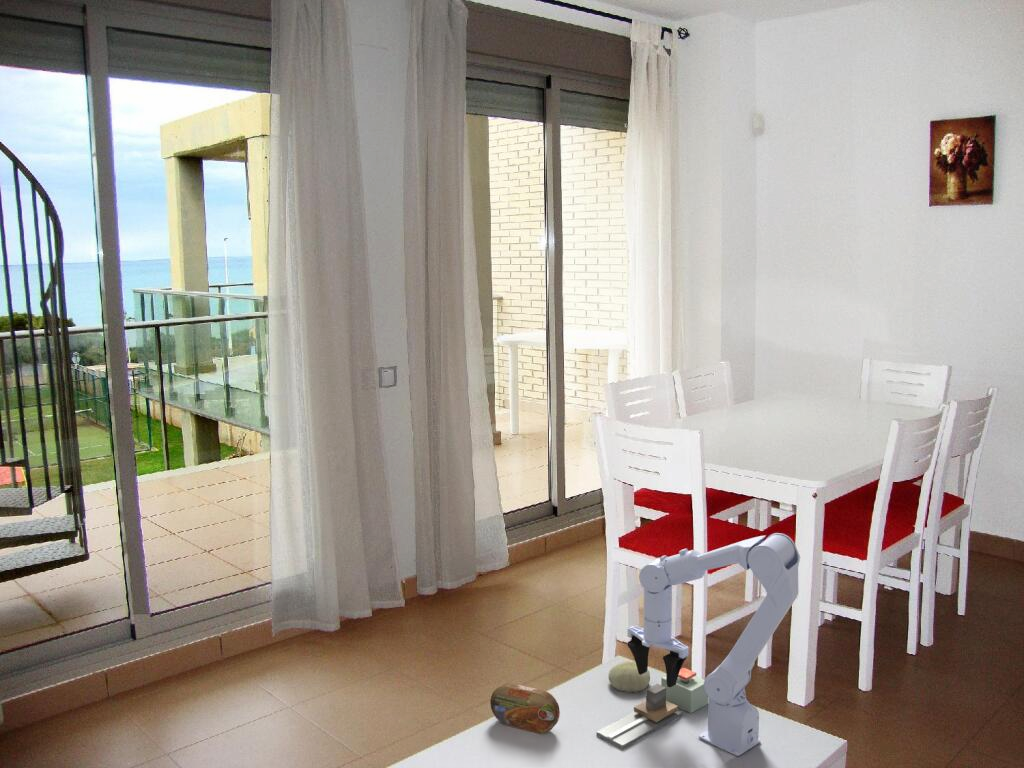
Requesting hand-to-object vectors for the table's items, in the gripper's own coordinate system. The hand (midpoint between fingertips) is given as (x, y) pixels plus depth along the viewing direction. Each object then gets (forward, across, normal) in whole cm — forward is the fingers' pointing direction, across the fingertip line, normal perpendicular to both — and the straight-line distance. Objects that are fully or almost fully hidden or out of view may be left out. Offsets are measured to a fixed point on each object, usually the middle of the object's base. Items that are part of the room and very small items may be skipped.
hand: (656, 679), depth 189 cm
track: (+8, 0, -5) cm, 10 cm away
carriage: (+7, 0, 0) cm, 7 cm away
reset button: (+4, 0, +9) cm, 10 cm away
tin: (+9, -16, -22) cm, 29 cm away
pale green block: (+8, 0, +9) cm, 13 cm away
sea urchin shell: (+9, -13, +7) cm, 17 cm away
